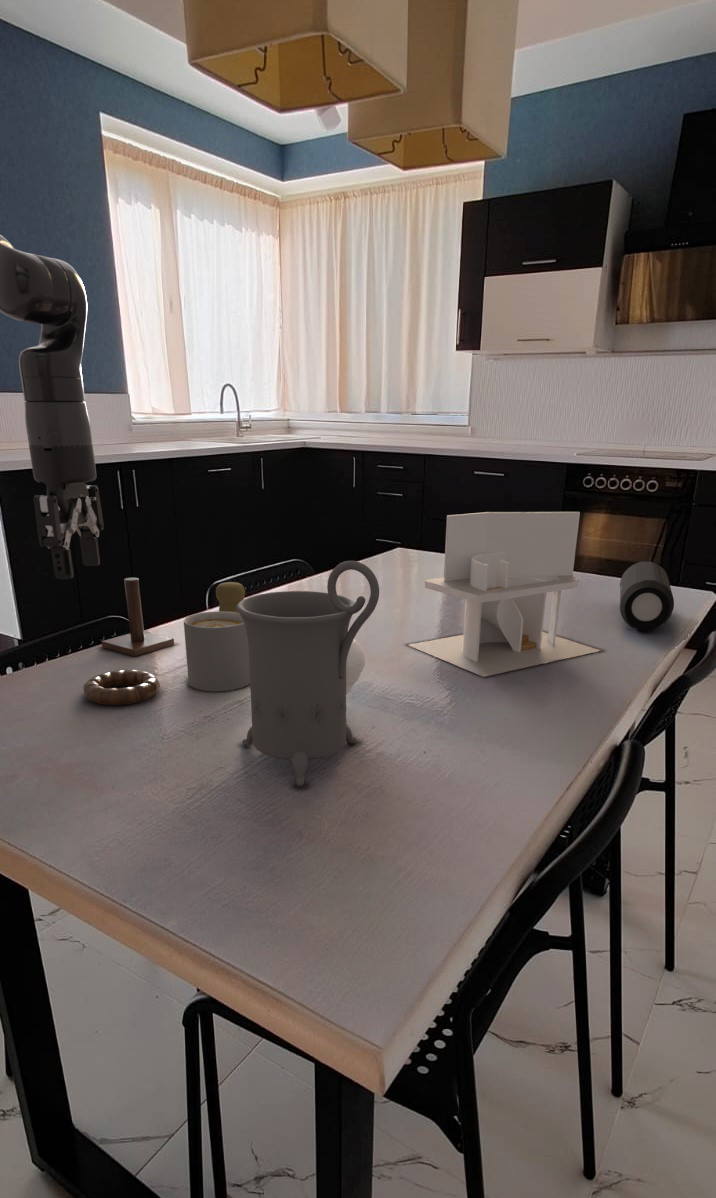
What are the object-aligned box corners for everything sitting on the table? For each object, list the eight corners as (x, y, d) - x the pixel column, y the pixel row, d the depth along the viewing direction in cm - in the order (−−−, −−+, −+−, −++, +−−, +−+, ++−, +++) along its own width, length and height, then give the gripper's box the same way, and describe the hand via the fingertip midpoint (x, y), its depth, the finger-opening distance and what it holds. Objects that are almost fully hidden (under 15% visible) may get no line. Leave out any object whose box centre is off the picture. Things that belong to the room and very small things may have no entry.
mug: (209, 766, 93) (193, 559, 83) (273, 725, 106) (266, 539, 96) (347, 799, 86) (348, 576, 76) (399, 750, 98) (405, 552, 88)
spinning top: (346, 720, 107) (346, 636, 103) (301, 709, 111) (300, 628, 106) (374, 703, 114) (375, 624, 109) (330, 693, 117) (330, 616, 112)
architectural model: (483, 676, 125) (494, 529, 116) (407, 644, 141) (411, 513, 132) (601, 650, 139) (619, 517, 130) (519, 624, 155) (530, 504, 146)
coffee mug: (229, 695, 116) (225, 630, 112) (175, 685, 120) (170, 623, 116) (274, 669, 127) (272, 610, 123) (223, 661, 131) (220, 604, 127)
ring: (70, 697, 115) (67, 681, 114) (128, 678, 123) (126, 663, 122) (116, 712, 109) (114, 697, 108) (174, 692, 117) (173, 677, 116)
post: (102, 647, 138) (93, 579, 133) (141, 636, 145) (134, 571, 140) (135, 656, 133) (127, 586, 129) (174, 644, 140) (168, 578, 135)
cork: (210, 645, 140) (206, 585, 136) (225, 636, 145) (222, 578, 141) (241, 648, 138) (238, 587, 134) (255, 639, 144) (252, 580, 139)
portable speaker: (617, 602, 173) (623, 557, 169) (663, 606, 170) (671, 560, 166) (616, 631, 151) (623, 581, 147) (670, 636, 148) (679, 584, 144)
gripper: (57, 439, 103) (74, 561, 109) (2, 443, 89) (25, 582, 96) (111, 439, 102) (125, 562, 108) (64, 444, 89) (83, 584, 95)
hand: (78, 571), depth 102 cm, fingers open, 8 cm apart
